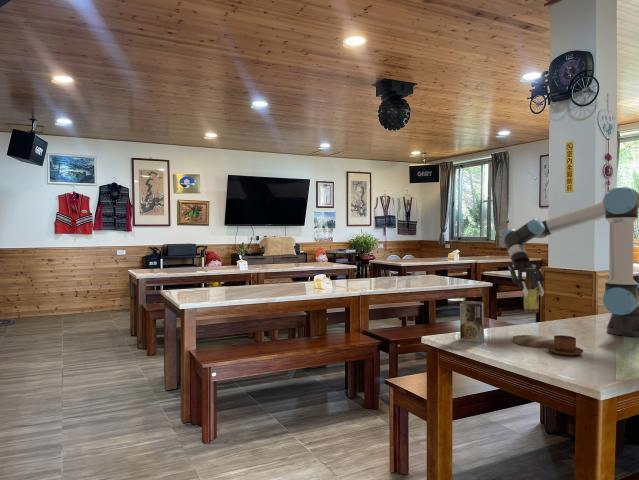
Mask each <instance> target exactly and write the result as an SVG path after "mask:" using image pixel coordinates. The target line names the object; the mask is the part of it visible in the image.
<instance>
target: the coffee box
mask: <svg viewBox="0 0 639 480" xmlns="http://www.w3.org/2000/svg"><path fill="white" fill-rule="evenodd" d="M484 311H485V310H484V301H469V300H468V301H467V300H466V301H465V300H462V301H461V302H459V323H460V324H459V325H460V326H459V331H460V332H459V334H460V335H459V336H460V337H459V341H460V342H467V341H473V342H472V343H480V342H481V343H484V341H485V338H484V337H485V336H484V335H485V333H484V332H485V331H484V330H485V327H484V324H485V323H484V322H485V321H484V319H485V317H484V315H485V313H484Z"/></svg>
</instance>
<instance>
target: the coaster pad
mask: <svg viewBox="0 0 639 480" xmlns="http://www.w3.org/2000/svg"><path fill="white" fill-rule="evenodd" d="M512 342H513V343H514V344H515V345H518V346H519V345H520V346H524V347H530V348H542V349H543V348H546V349H547V346H550V345H554V338H551V337H548V336H542V335H534V334H521V335H514V336H513V337H512Z"/></svg>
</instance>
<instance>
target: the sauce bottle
mask: <svg viewBox="0 0 639 480" xmlns="http://www.w3.org/2000/svg"><path fill="white" fill-rule="evenodd" d="M524 273H525V279H524V283H525V285H526V288H527V290H528V295H527V297H525V295H524V293H523V294H522V295H523V296H522V297H523V298H522V299H523V311H524V313H528V314H538V313H539V310H540V306H539V305H540V300H539V298H540V297H539V296H540V294H539V291H538V284H537V281H536V279H535V268H532V267H531V268H525V272H524Z"/></svg>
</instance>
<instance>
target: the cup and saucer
mask: <svg viewBox="0 0 639 480" xmlns="http://www.w3.org/2000/svg"><path fill="white" fill-rule="evenodd" d="M553 339H554V345H550V346H547V348H546V349H547V350H548V351H549V352H550V353H553V354H556V355H561V356H567V357H568V356H569V357H570V356H571V357H572V356H574V357H575V356H579V355H581V354H583V353H584V349H582V348H580V347H577V338H576V337H575V336H572V335H571V336H570V335H558V334H557V335H554V336H553Z"/></svg>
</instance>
